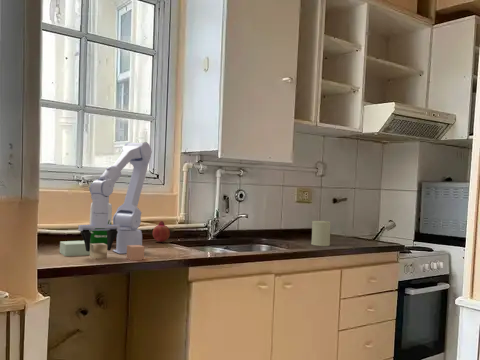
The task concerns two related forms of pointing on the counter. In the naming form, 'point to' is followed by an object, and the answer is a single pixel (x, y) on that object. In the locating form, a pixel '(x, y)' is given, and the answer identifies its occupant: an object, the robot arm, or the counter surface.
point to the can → (321, 233)
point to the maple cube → (98, 250)
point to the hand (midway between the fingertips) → (98, 250)
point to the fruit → (161, 232)
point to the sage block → (73, 248)
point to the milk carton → (101, 234)
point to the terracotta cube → (135, 252)
